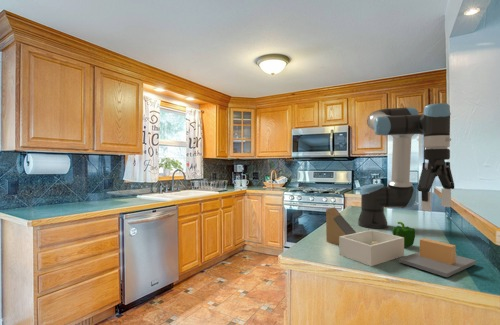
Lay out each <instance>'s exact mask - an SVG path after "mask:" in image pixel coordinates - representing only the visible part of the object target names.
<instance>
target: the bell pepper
mask: <svg viewBox="0 0 500 325" xmlns="http://www.w3.org/2000/svg"><path fill="white" fill-rule="evenodd" d="M397 224H398V225H397V226H393V228H392V229H391V230H392V235H396V236H400V237H404V248H410V247H412V246H413V245H414V242H415V239H416V230H415V228H414V227H410V226H405V224H404V223H403V222H401V221H397Z"/></svg>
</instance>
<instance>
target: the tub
mask: <svg viewBox="0 0 500 325" xmlns="http://www.w3.org/2000/svg"><path fill="white" fill-rule="evenodd" d="M338 252H339V253H338V255H339V256H343V257H345V258H348V259H351V260H353V261H355V262H358V263H361V264H365V265H367V266H369V267H373V266H376V265H377V266H378V265H380V264H382V263H385V262H389V261H391V260H392V261H393V260H395V258H396V259H399V258H402V257H405V247H404V237H400V236H396V235H393V234H391V233H387V232H383V231H379V230H375V229H369V230H368V229H367V230H364V231H360V232H356V233H354V234H349V235H344V236H340V237H339V245H338ZM401 256H402V257H401ZM398 257H399V258H398Z"/></svg>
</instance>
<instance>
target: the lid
mask: <svg viewBox="0 0 500 325" xmlns="http://www.w3.org/2000/svg"><path fill="white" fill-rule="evenodd" d="M456 248H457V247H456V245H455V244H450V243H446V242H443V241H442V242H441V241H438V240H433V239H428V238H426V237H425V238H421V239H419V251H417V252H414V253H412V254H408V255H404V256H402V257H399V258H398V262H399V263H401V264H404V265H406V266H410V267H414V268H416V269H419V270H422V271H426V272H429V273H432V274H434V275H439V276H440V277H445V278H449V277H451V276H452V275H456V274H458V273H460V272H461V271H464V270H467V268H470V267H472V266H475V265H477V260H476V259H472V258H468V257H464V256H462V255H456V254H457V253H456V250H457V249H456Z"/></svg>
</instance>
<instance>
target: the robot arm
mask: <svg viewBox="0 0 500 325" xmlns="http://www.w3.org/2000/svg"><path fill="white" fill-rule="evenodd" d="M451 115H452V113H451V107H450V105H449V104H448V103H446V102H445V103H444V102H440V103H431V104H426V106H424V109H423V114H420V113H419V111H418V109H417V108H416V107H407V106H406V107H405V106H404V107H393V108H381V109H378V110H375V111H372V112H370V114H369V115H368V117H367V119H366V124H367V127H369V129H370V130H373V131H374V134H375V135H376V136H392V154H391V156H392V157H391V180H390V181H388V183H387V186H385V185H384V183H371V184H365V185H363V186H361V191H360V195H361V200H360V201H361V202H360V203H361V206H360V208H361V210H360V214H359V217H358V220H357V225H358V226H359V227H362V228H363V227H364V228H368V229H385V228H388V221H387V218H386V215H385V208H394V209H395V208H396V209H411V208H412V207H413V206H414V205H415V203H416V200H417V192H421V196H420V197H421V202H420V203H421V206H420V207H421V211H424V212H432V192H431V188H432V186H433V184H434V181H435V179H436V177H438V179H439V182H440V184H441V186H442V188H441V207H443V208H444V207H445V208H451V207H452V190H455V182H454V181H455V180H454V178H453V173H452V169H451V162H450V161H446V160H450V158H451V150H450V149H449V148H450V146H451V141H452V138H451V134H450V133H451ZM414 135H422V136H423V148H425V149H424V150H423V159H424V160H426V161H427V162H423V163H422V165H421V166H422V168H421V173H420V176H419V180H418V184H417V187H414V186H413V183H412V182H411V181H410V178H411V177H410V175H411V158H412V157H411V154H412V138H413V137H414ZM416 188H417V189H416Z"/></svg>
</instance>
